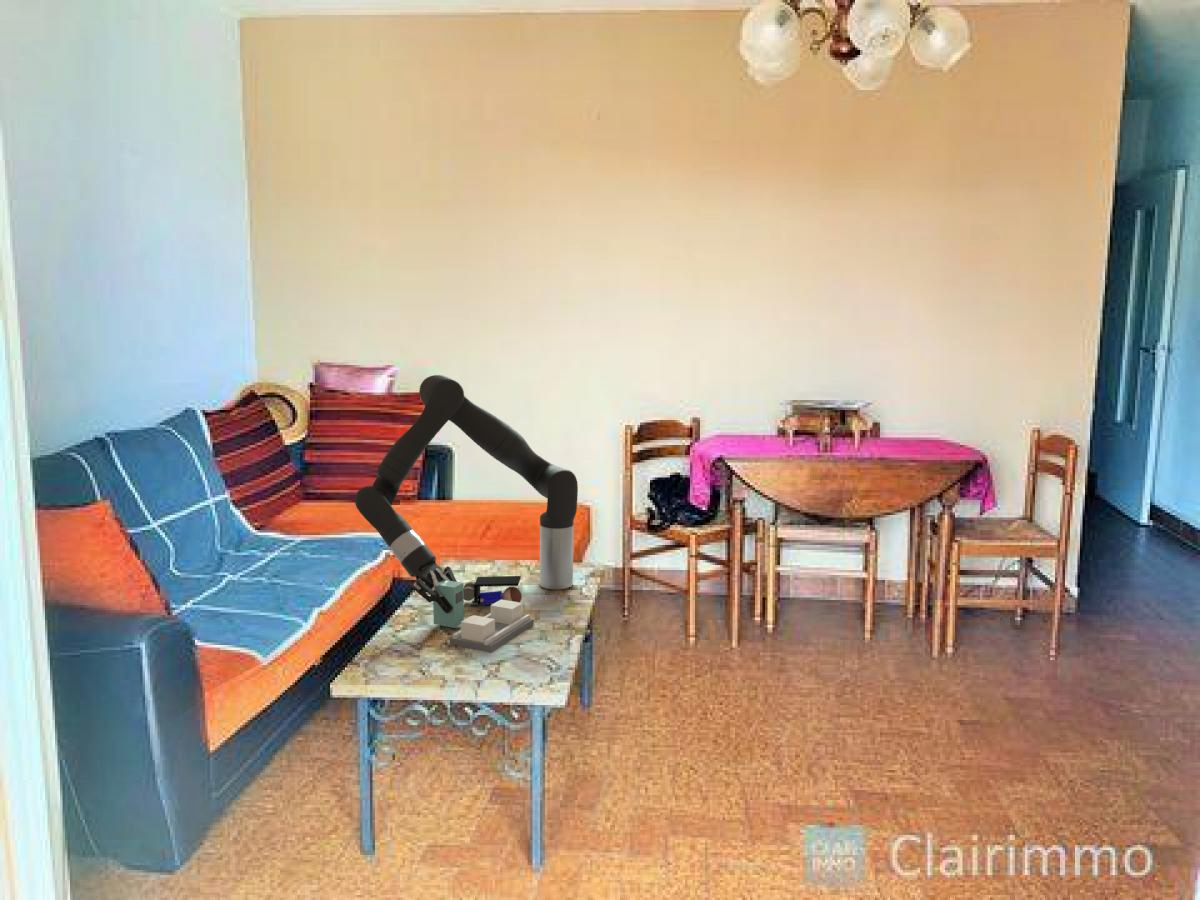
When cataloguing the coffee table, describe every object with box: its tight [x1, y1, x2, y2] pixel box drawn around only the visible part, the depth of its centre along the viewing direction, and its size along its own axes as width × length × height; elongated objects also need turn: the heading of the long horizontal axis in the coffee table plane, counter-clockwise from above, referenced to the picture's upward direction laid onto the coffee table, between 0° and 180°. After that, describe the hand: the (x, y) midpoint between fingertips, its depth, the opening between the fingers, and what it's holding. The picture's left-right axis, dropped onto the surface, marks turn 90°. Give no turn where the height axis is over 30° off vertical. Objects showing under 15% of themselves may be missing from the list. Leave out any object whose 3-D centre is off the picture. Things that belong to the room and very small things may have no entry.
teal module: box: [432, 580, 465, 628], centre depth 229 cm, size 4×6×10 cm, turn 65°
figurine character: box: [463, 575, 523, 607], centre depth 246 cm, size 7×8×15 cm
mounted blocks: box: [460, 599, 524, 643], centre depth 225 cm, size 18×6×4 cm, turn 155°
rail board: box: [449, 612, 534, 653], centre depth 225 cm, size 20×11×2 cm, turn 155°
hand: (455, 608), depth 228 cm, fingers closed on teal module, 4 cm apart
